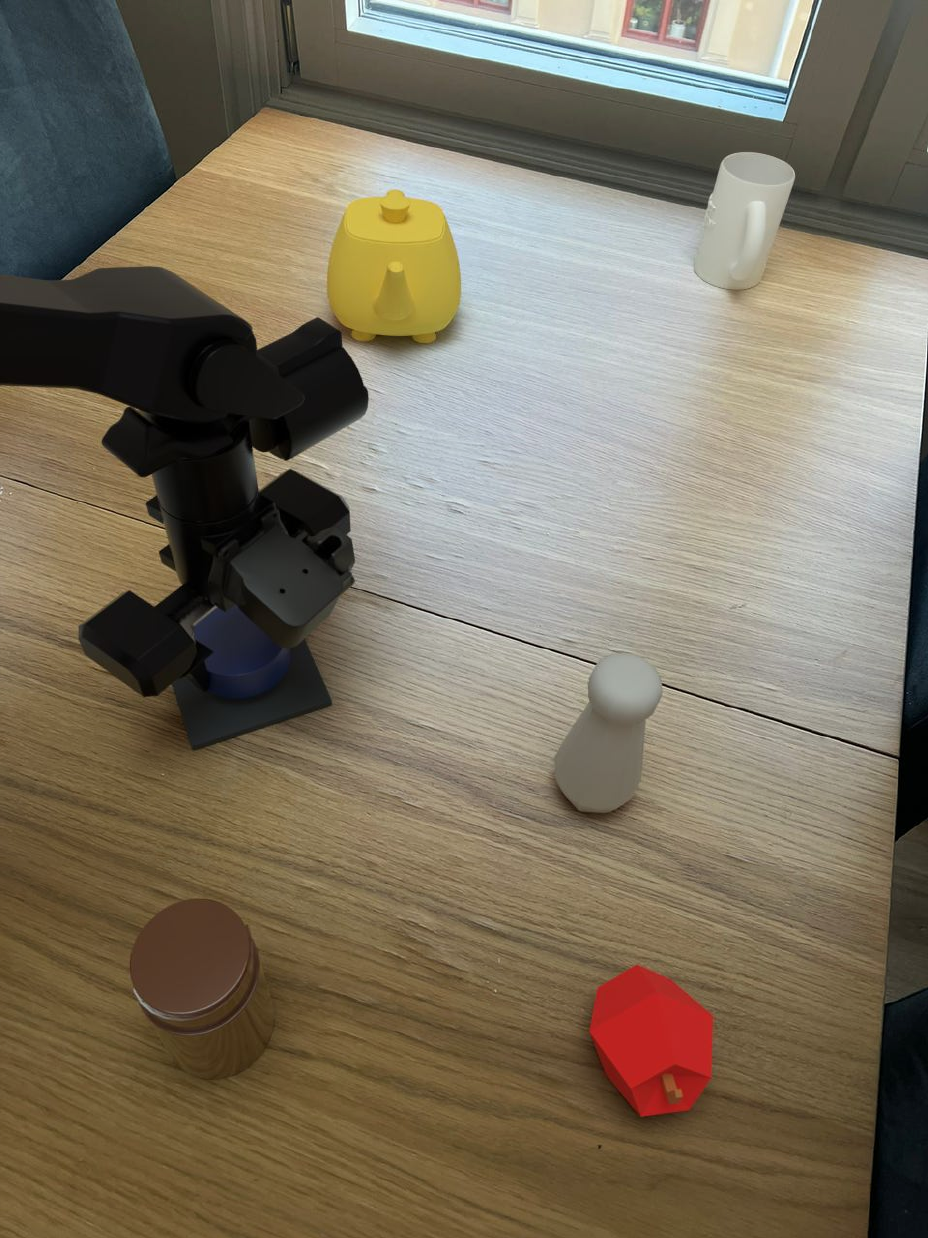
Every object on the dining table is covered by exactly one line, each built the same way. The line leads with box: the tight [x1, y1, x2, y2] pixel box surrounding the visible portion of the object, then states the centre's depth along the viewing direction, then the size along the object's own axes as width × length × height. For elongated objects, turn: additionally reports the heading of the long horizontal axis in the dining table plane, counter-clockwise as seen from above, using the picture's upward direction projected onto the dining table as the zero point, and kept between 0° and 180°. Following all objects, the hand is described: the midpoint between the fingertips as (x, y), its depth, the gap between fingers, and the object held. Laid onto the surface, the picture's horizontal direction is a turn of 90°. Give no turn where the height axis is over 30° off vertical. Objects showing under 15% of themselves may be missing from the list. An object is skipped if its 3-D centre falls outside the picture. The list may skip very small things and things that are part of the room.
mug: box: [693, 151, 796, 291], centre depth 103 cm, size 8×12×12 cm
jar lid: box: [194, 604, 291, 699], centre depth 65 cm, size 7×7×3 cm
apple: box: [589, 964, 714, 1118], centre depth 50 cm, size 7×7×8 cm
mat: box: [171, 637, 333, 751], centre depth 68 cm, size 10×10×1 cm
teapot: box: [326, 189, 462, 344], centre depth 93 cm, size 14×20×13 cm
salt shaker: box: [553, 652, 663, 814], centre depth 59 cm, size 6×6×13 cm
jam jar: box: [129, 897, 275, 1080], centre depth 48 cm, size 6×6×10 cm
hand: (240, 653), depth 66 cm, fingers open, 7 cm apart
